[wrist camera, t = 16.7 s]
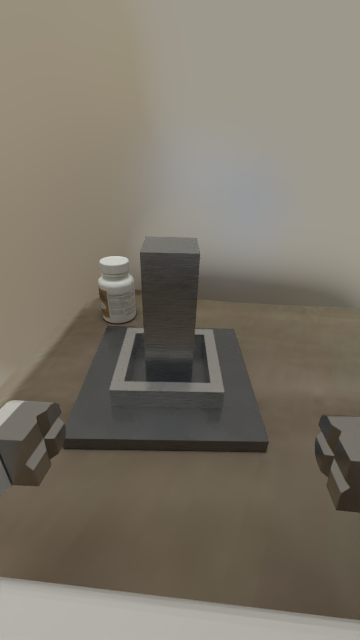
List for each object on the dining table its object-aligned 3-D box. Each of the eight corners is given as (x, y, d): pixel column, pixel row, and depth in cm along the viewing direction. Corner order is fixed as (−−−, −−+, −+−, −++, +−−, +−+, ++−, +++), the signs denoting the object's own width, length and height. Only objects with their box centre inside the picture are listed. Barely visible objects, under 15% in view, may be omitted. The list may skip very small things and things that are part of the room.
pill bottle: (102, 309, 38) (95, 255, 34) (134, 307, 39) (131, 253, 35) (102, 326, 35) (94, 267, 31) (137, 322, 36) (134, 265, 32)
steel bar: (189, 357, 28) (196, 238, 22) (191, 385, 25) (200, 253, 18) (150, 356, 28) (145, 236, 22) (146, 384, 25) (140, 252, 18)
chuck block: (232, 337, 33) (235, 315, 32) (265, 451, 21) (273, 425, 19) (108, 334, 33) (105, 312, 32) (63, 448, 20) (55, 421, 19)
